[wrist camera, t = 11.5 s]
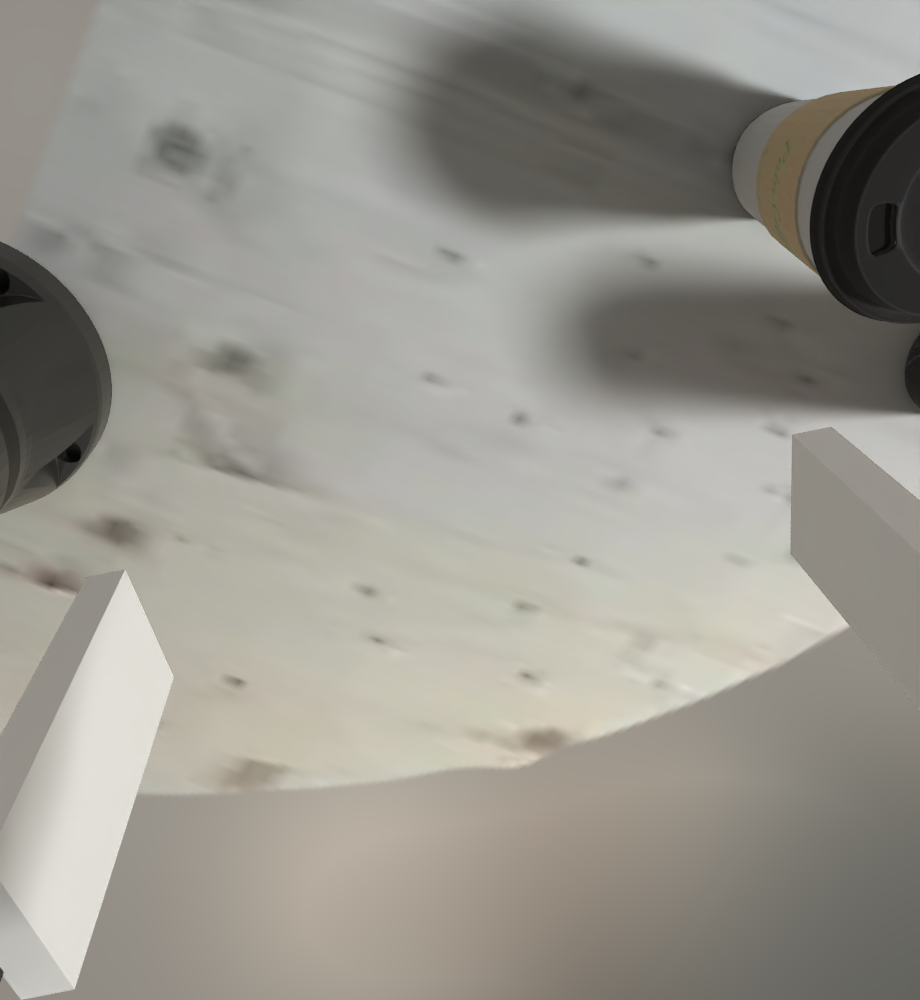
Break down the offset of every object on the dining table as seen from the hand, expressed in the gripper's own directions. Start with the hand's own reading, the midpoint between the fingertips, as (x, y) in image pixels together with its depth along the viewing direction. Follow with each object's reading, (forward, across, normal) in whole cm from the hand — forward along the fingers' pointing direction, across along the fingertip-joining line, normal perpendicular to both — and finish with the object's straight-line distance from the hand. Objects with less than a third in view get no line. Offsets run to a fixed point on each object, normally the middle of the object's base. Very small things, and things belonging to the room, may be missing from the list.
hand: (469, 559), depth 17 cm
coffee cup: (+32, +20, 0) cm, 37 cm away
